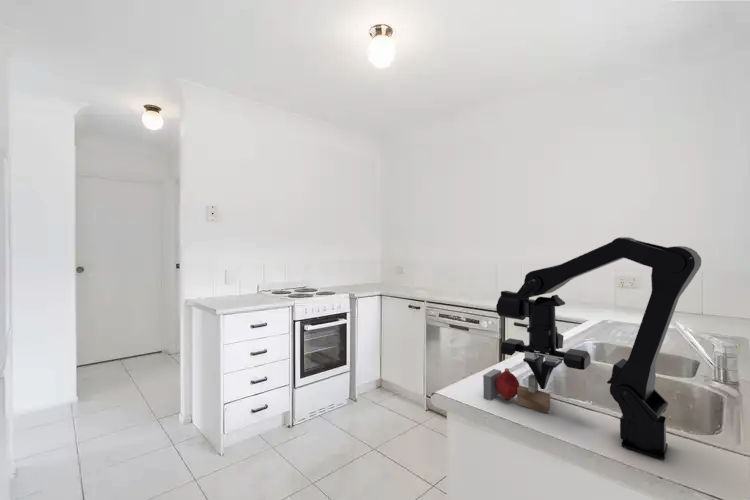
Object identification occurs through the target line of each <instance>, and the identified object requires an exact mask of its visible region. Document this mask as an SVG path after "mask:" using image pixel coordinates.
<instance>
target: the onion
mask: <svg viewBox="0 0 750 500" xmlns="http://www.w3.org/2000/svg"><path fill="white" fill-rule="evenodd" d="M519 386H521V385H520V382H519V380H518V378H517V377H516V375H515V374H514V373H512V372H510V369H509V368H507V367H506V368H505V369H504V371H503V372H501V374H500V375H499V376H498V377H497V378H496V381H495V387H496V390H497V392H498V393H499V396H500V397H502V398H503V399H504V400H506V401H509V400H512V399H513V398H515V397H517V388H518V387H519Z"/></svg>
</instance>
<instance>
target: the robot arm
mask: <svg viewBox="0 0 750 500" xmlns="http://www.w3.org/2000/svg"><path fill="white" fill-rule="evenodd" d="M623 259H627V260H629V261H632V262H634V263H636V264H640V265H643V266H645V267H649V268H651V275H650V277H651V280H650V281H651V293H650V296H649V299H648V302H647V303H646V304H647V305H646V307H645V310H644V313H643V317H642V319H641V323H640V325H639V328H638V331H637V334H636V337H635V339H634V343H633V345H632V348H631V350H630V354H629V357H628V359H625V358H622V359H620V360H619V361H617V362H616V363H615V364H613V365H612V373H611V376H610V378H609V380H607V381H606V384H608V385H609V384H610V386H609V394H610V395H611V396H612V398H613V400H614V401H615V403H617V404H618V407H619V409H620V411H621V414H622V415H620V419H619V429H620V430H619V438H620V439H621V440H622V442H621V444H620V445H621V447H623V448H624V449H625V448H626V449H629V450H632V451H634V452H638V453H641V454H644V455H647V456H650V457H653V458H656V459H660V460H665V459H666V456H667V455H666V454H667V450H668V447H669V444H668V443H667V417H666V416H663V414H664V413H665V412H666V410H667V408H668V406H669V403H668V401H667V400H666V399H665V398H664V397H662V396H663V395H661V394H660V393H659V392H658V391H657V390H656V389H655V384H656V379H657V378H656V362H657V360H658V356H659V354H660V351H661V349H662V346H663V343H664V340H665V337H666V335H667V333H668V329H669V326H670V323H671V321H672V318H673V316H674V314H675V313H674V312H676V311H675V309H676V307H677V305H678V302H679V299H680V297H681V296H682V294H683V293H684V292H685V290H686V288H688V286H689V285H690V283H691V282H692V280H693V279H694V278H695V277H696V275H697V272H698V271H699V270H700V268H701V265H702V258H701V256H700V255H699V253H698V252H697V251H696V250H695V249H693V248H691V247H688V246H682V245H677V246H668V247H667V246H662V245H659V244H654V243H650V242H645V241H641V240H637V239H635V238H633V237H627V236H626V237H624V236H620V237H616V238H615V239H613V240H611V241H610V242H608V243H605V244H603V245H602V246H599V247H597V248H594V249H592V250H590V251H587V252H585V253H583V254H581V255H579V256H576V257H574V258H571V259H570V260H567V261H565V262H562V263H560V264H557V265H556V264H555V265H553V266H552V265H551V266H547V267H544V268H539V269H535V270H531V271H529V272H527V273H526V274H525V277H524V281H523V282H524V283H523V284H522V285H521V286H520V288H519V289H518V291H517V292H515V291H514V292H513V291H510V290H502V291H500V296H499V298H498V300H497V304H496V305H495V306H496V307H495V308H496V313H497V315H498V316H499V317H500V318H506V319H511V320H512V319H513V320H518V321H519V320H520V321H524V320H525V319H526V318H527V317H528V327H527V328H526V332H527V333H528V340H529V341H528V344H525V342H524V340H522V339H516V338H512V337H511V338H508V339H505V340H503V341H501V343H500V344H499V353H500V354H502V355H505V356H513V355H514V354H515V353H516V352H517V353H521V354H522V353H523V354H524V358H523V362H524V363H527V365H528V367H529V368H530V370H531V371H532V373H533V375H535V377H536V379H537V382H538V387H540V389H541V390H545V389H546V388H547V385H548V382H549V379H550V377H551V375H552V372H553V370H554V368H557V367H558V366H559V365H561V364H562V363H563V364H564V365H565V366H566V368H569V369H570V368H571V369H574V370H580V371H582V370H586V369H587V368H588V367H589V366H590V365H591V355H590V353H589V352H588V351H587V350H580V349H575V348H570V349H568V350H567V351H561V350H559V349H563V348H564V347H563V345H564V335H563V334H561V333H559V332H558V326H557V324H556V307H558V308H559V307H561V306H565V304H566V302H565V301H564V300H563V299H562V298H560V296H559V295H558V294H554V295H551V297H550V296H549V297H547V296H542V295H546V294H551V293H553V292H556V291H557V290H559V289H560V288H562V287H563V286H565V285H566V284H567V283H569V282H570V281H572V280H574V279H575V278H577V277H580V276H583V275H585V274H587V273H590V272H592V271H595V270H598V269H600V268H603V267H605V266H607V265H610V264H612V263H616V262H618V261H620V260H623ZM534 297H537V298H536V299H530V298H534Z"/></svg>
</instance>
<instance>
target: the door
mask: <svg viewBox="0 0 750 500" xmlns="http://www.w3.org/2000/svg"><path fill="white" fill-rule="evenodd" d="M527 378H528V385H527V386H528V387H526V386H523V385H520V386H519V387H518V388H517V395H516V400H517V401H516V404H517V405H519V406H522V407H525V408H529V409H532V410H536V411H538V412H542V413H544V414H548V413H549V412H550V411H551V393H549V392H545V391H542V390H539V384H538V382H537V379H536V377H535V375H534V374H530V375H528V377H527Z"/></svg>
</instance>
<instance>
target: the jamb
mask: <svg viewBox="0 0 750 500" xmlns="http://www.w3.org/2000/svg"><path fill="white" fill-rule="evenodd" d="M501 373H502V370H500V369H495V368H493V369H491V370H490V371H488V372H486V373H484V374H483V375H482V376H483V379H482V380H483V383H482V384H483V399H485V400H488V401H493V400H494V399H496V397H498V396H500V394H499V393H498V392H497V390H496V387H495V381H496V378H497V377H498V376H499V375H500V374H501Z"/></svg>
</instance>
